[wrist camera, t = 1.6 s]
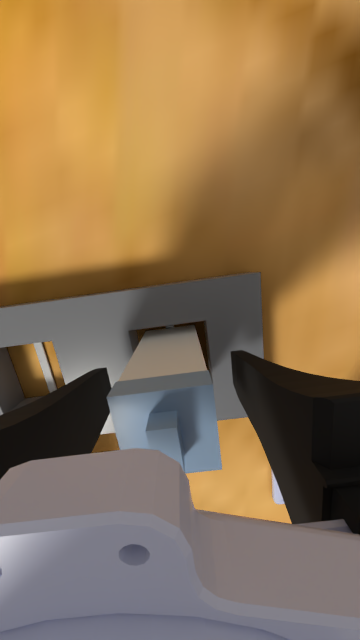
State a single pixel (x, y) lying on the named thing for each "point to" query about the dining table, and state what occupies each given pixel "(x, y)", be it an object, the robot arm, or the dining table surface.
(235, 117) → the dining table surface
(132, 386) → the plug
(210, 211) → the dining table surface
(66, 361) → the socket strip
